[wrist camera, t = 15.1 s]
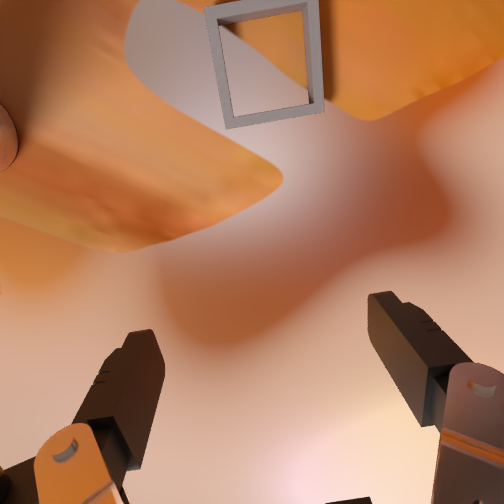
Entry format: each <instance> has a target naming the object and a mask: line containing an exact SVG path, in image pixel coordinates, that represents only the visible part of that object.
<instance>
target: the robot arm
mask: <svg viewBox="0 0 504 504" xmlns="http://www.w3.org/2000/svg"><path fill="white" fill-rule="evenodd" d="M17 149H18V138H17V133H16V129H15V126H14V124H13V122H12V119H11V118H10V116H9V115H8V113H7V112H6V110H5V109H4V108H3V107H2V105H1V104H0V171H2V170H4V169H6V168H7V167H8V166H9V165H10V164H11V163H12V162H13V160H14V158H15V157H16V153H17ZM368 333H369V337H370V341H371V343H372V345H373V347H374V348H375V350H376V352H377V354H378V355H379V357H380V359H381V360H382V362H383V363H384V365H385V367H386V369H387V370H388V372H389V374H390V375H391V377H392V379H393V381H394V382H395V384H396V386H397V387H398V389H399V391H400V392H401V394H402V396H403V397H404V399H405V401H406V402H407V404H408V406H409V407H410V409H411V411H412V412H413V414H414V416H415V417H416V419H417V421H418V422H419V424H420V426H421V427H426V426H432V425H435V426H436V428H437V429H438V431H439V432H440V440H439V447H438V455H437V462H436V470H435V477H434V484H433V491H432V499H431V504H504V374H503V373H501V372H500V371H498V370H496V369H494V368H492V367H489V366H487V365H483V364H480V363H474V362H473V361H472V360H471V359H470V358H469V357H468V356H467V355H466V354H465V353H464V352H463V351H462V350H461V348H459V346H458V345H457V344H456V343H455V342H454V341H453V340H452V339H450V337H449V336H448V335H447V334H446V333H445V332H444V331H443V330H441V328H440V327H439V326H438V325H437V324H436V322H433V319H432V318H431V317H429V315H428V314H427V313H426V312H425V311H424V310H423V309H421V308H419V307H417V306H415V305H414V304H412V303H410V302H407V303H402V302H401V301H400V300H399V299H398V297H397V296H396V295H395V294H394V293H393V292H392V291H386V292H380V293H374V294H369V296H368ZM164 378H165V363H164V359H163V356H162V354H161V351H160V348H159V345H158V343H157V340H156V337H155V335H154V332H153V331H152V330H151V329H147V330H141V331H135V332H130V333H129V334H128V335H127V337H126V339H125V342H124V343H123V346H122V348H117V349H115V350H114V351H113V352H112V353H111V354H110V356H108V358H107V359H106V360H105V361H104V363H103V365H102V367H101V369H100V370H99V375H97V376H96V378H95V380H94V382H93V385H92V386H91V388H90V390H89V392H88V393H87V395H86V397H85V399H84V401H83V403H82V405H81V407H80V409H79V410H78V412H77V414H76V416H75V418H74V420H73V422H72V424H71V425H69V426H67V427H65V428H63V429H61V430H59V431H58V432H56V433H55V434H54V435H53V436H51V437H50V438H49V439H48V440H47V441H46V442H45V443H44V445H43V446H42V447H41V449H40V450H39V452H38V453H37V455H36V456H35V457H33V458H31V459H28V460H26V461H24V462H22V463H20V464H17V465H15V466H12V467H10V468H8V469H6V470H3V469H2V468H1V466H0V504H131V502H130V499H129V497H128V495H127V492H126V490H125V487H124V486H123V480H124V477H125V474H126V471H131V470H138V469H140V468H141V465H142V461H143V457H144V453H145V449H146V445H147V442H148V438H149V434H150V431H151V426H152V423H153V419H154V415H155V411H156V408H157V404H158V400H159V397H160V393H161V389H162V385H163V381H164ZM326 504H372V502H371V499H370V497H364V498H357V499H351V500H344V501H337V502H330V503H326Z"/></svg>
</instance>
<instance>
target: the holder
mask: <svg viewBox="0 0 504 504" xmlns="http://www.w3.org/2000/svg"><path fill="white" fill-rule="evenodd" d="M296 11H302V14H303V28H304V41H305V55H306V68H307V82H308V94H309V104H306V105H301V106H295V107H290V108H284V109H278V110H273V111H267V112H261V113H255V114H249V115H244V116H238V117H234V116H233V110H232V104H231V98H230V92H229V87H228V80H227V75H226V69H225V63H224V57H223V51H222V45H221V39H220V33H219V27H218V26H220V25H226V24H231V23H237V22H242V21H247V20H253V19H258V18H264V17H269V16H275V15H280V14H285V13H291V12H296ZM204 12H205V18H206V23H207V29H208V34H209V40H210V45H211V51H212V56H213V62H214V67H215V72H216V78H217V84H218V89H219V95H220V100H221V106H222V111H223V117H224V122H225V127H226V129H231V128H237V127H243V126H248V125H254V124H260V123H265V122H271V121H277V120H283V119H288V118H294V117H299V116H305V115H311V114H317V113H322V112H325V110H324V92H323V74H322V56H321V38H320V20H319V2H318V0H240V1H235V2H229V3H224V4H219V5H213V6H208V7H204Z"/></svg>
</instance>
